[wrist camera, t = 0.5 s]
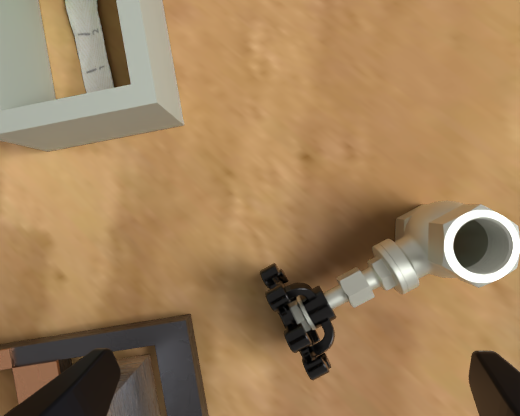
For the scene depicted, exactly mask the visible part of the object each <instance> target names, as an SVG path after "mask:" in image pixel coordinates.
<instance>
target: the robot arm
mask: <svg viewBox="0 0 520 416" xmlns="http://www.w3.org/2000/svg"><path fill="white" fill-rule="evenodd" d="M120 375H121V370H120V367H119V365H118V362H117V360H116V358H115V356H114V354H113V352H112V350H110V349H109V348H97V349H94V350H92V351H91V352H89V353H88V354H87V355H85V356H84V357H83V358H81V359H80V360H78V361H77V362H76V363H74V364H73V365H72V366H70V367H69V368H68V369H66V370H65V371H64V372H62V373H61V374H59V375H58V376H57V377H55V378H54V379H53V380H51V381H50V382H49V383H47V384H46V385H45V386H43V387H42V388H40V389H39V390H38V391H36V392H35V393H34V394H32V395H31V396H30V397H28V398H27V399H25V400H24V401H23V402H21V403H20V404H19V405H17V406H16V407H15V408H13V409H12V410H11V411H9V412H8V413H6V414H5V415H4V416H107V414H108V411H109V408H110V405H111V402H112V399H113V397H114V394H115V391H116V388H117V385H118V382H119V379H120ZM469 384H470V388H471V391H472V394H473V397H474V400H475V404H476V407H477V410H478V413H479V416H520V372H519V371H518V370H517V369H516V368H514V367H513V366H512V365H511V364H510V363H508V362H507V361H506V360H505V359H504V358H502V357H501V356H500V355H499V354H497V353H496V352H494V351H474V352H473V353H472V356H471V363H470V370H469Z"/></svg>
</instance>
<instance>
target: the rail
mask: <svg viewBox="0 0 520 416" xmlns="http://www.w3.org/2000/svg"><path fill="white" fill-rule="evenodd" d="M152 345H155V349H156V354H157V360H158V366H159V371H160V377H161V383H162V388H163V394H164V400H165V406H166V411H167V416H208V410H207V404H206V399H205V393H204V387H203V382H202V376H201V370H200V365H199V359H198V353H197V347H196V342H195V336H194V330H193V325H192V319H191V314H188V315H182V316H176V317H170V318H163V319H157V320H151V321H144V322H138V323H132V324H126V325H119V326H113V327H107V328H101V329H94V330H88V331H82V332H76V333H69V334H63V335H57V336H50V337H44V338H38V339H32V340H25V341H19V342H13V343H7V344H0V370H4V369H10V368H12V369H13V375H14V381H15V386H16V392H17V398H18V403H19V404H20V403H21V402H23V401H24V400H25V399H27V398H28V397H30V396H31V395H32V394H34V393H35V392H36V391H38V390H39V389H40V388H42V387H43V386H45V385H46V384H47V383H49V382H50V381H51V380H53V379H54V378H55V377H57V376H58V375H59V374H61V373H62V372H64V371H65V370H66V369H68V368H69V367H70V366H72V362H71V358H74V357H81V356H85V355H87V354H88V353H89V352H91V351H92V350H94V349H97V348H109V349H110V350H112V352H113V351H119V350H126V349H132V348H139V347H145V346H152Z"/></svg>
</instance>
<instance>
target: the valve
mask: <svg viewBox="0 0 520 416" xmlns="http://www.w3.org/2000/svg"><path fill="white" fill-rule="evenodd" d="M372 251H373V254H374V258H372V259H370V260H368V268H367V269H365V270H363V271H360V270H359V269H358V268H357V267H355V268H353V269H351V270H349V271H348V272H346V273H344V274H342V275H340V276H338V277H337V281H338V283H339V285H338V286H336V287H334V288H332V289H330V290H328V291H327V292H325V293H323V291H322V290H321V288H320V286H317V287H315V288H313V289H312V288H311V287H310V286H309V285H308V284H305V283H293V284H290V285H288V286H285V285H284V284H285V283H286V282H288V279H287V277H286V275H285V273H284V272H283V270H282V269H280V270H279V268H278V267H277V265H276V264H275V263H274V264H272V265H270V266H268V267H266V268H264V269H262V270H261V271H260V275H261V277H262V280H263V282H264V283H265V285H266V286H267V287H268V288H269V289H270V290H268V291H266V293H265V295H266V298H267V301H268V303H269V305H270V307H271V308H272V310H273V311H274V312H278V314H279V315H280V317H281V319H282V322H283V324H284V326H285V328H286V330H285V331H284V336H285V339H286V341H287V343H288V345H289V347H290V349H291V350H292V352H293V353H296V352H298V351H299V352H300V354H301V356H302V358H303V359H302V362H303V365H304V368H305V370H306V372H307V374H308V376H309V377H310V379H311V380H315V379H317V378H319V377H321V376H323V375H324V374H326V373H328V372H329V368H331V364H330V362H329V360H328V358H327V356H326V354H325V353H324V352H326V351H327V350H328V349H329V348H330V347H331V346H332V344H333V341H334V337H335V332H334V328H333V325H332V323H331V321H332V320H334V319H336V315H335V313H334V312H333V310H332V309H334V308H336V307H338V306H340V305H342V304H344V303H346V302H348V301H349V303H350V304H351V306H352V307H354V308H355V307H357V306H358V305H360V304H362V303H364V302H366V301H368V300H370V299H372V298H374V297H375V296H374V294H373V292H372V290H374V289H376V288H378V287H382V288H383V289H384V290H389V289H391V288H393V287H394V288H395V290H396V291H397V292H399V293H400V294H405V293H407V292H409V291H411V290H412V289H414V288H416V287H418V286H419V278H421V277H423V276H425V275H427V274H432V275H435V276H439V277H443V278H458V279H460V280H461V281H464V282H466V283H469V284H471V285H473V286H476V287H478V288H479V287H482V286H484V285H487V284H489V283H491V282H494V281H496V280H498V279H500V278H502V277H503V276H505V275H507V274H509V273H510V272H512V271H513V270H515V269H516V268H517V265H518V260H519V251H520V237H519V229H518V226H517V225H516V224H515V223H513V222H512V221H510V220H509V219H507V218H505V217H504V216H502V215H500V214H498V213H497V212H495V211H493V210H491V209H489V208H487V207H485V206H483V205H481V204H463V203H459V202H455V201H438V202H434V203H430V204H422V205H420V206H418V207H416V208H414V209H413V210H411V211H409V212H407V213H405V214H403V215H401V216H399V217H398V218H396V226H395V242H394V241H392V240H391V239H386V240H384V241H382V242H380V243H378V244H376V245H374V246H373V247H372ZM298 295H300V296H298ZM321 326H322V328H323V330H324V333H325V335H324V338H323V339H322V340H321V341H320V338H319V336H318V334H317V332H316V330H315V329H317V328H319V327H321ZM319 341H320V342H319ZM317 342H318V343H317ZM315 343H316V344H315ZM322 353H323V354H322ZM320 354H321V355H320ZM318 355H319V356H318Z"/></svg>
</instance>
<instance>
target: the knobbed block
mask: <svg viewBox="0 0 520 416" xmlns="http://www.w3.org/2000/svg"><path fill="white" fill-rule="evenodd" d="M116 360H117V362H118V365H119V367H120V370H121V375H120V379H119V382H118V385H117V388H116V391H115V394H114V397H113V399H112V402H111V405H110V408H109V411H108V414H107V416H161V414H160V408H159V403H158V397H157V391H156V386H155V380H154V374H153V369H152V363H151V357H150V354H147V355H141V356H134V357H128V358H121V359H116Z"/></svg>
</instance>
